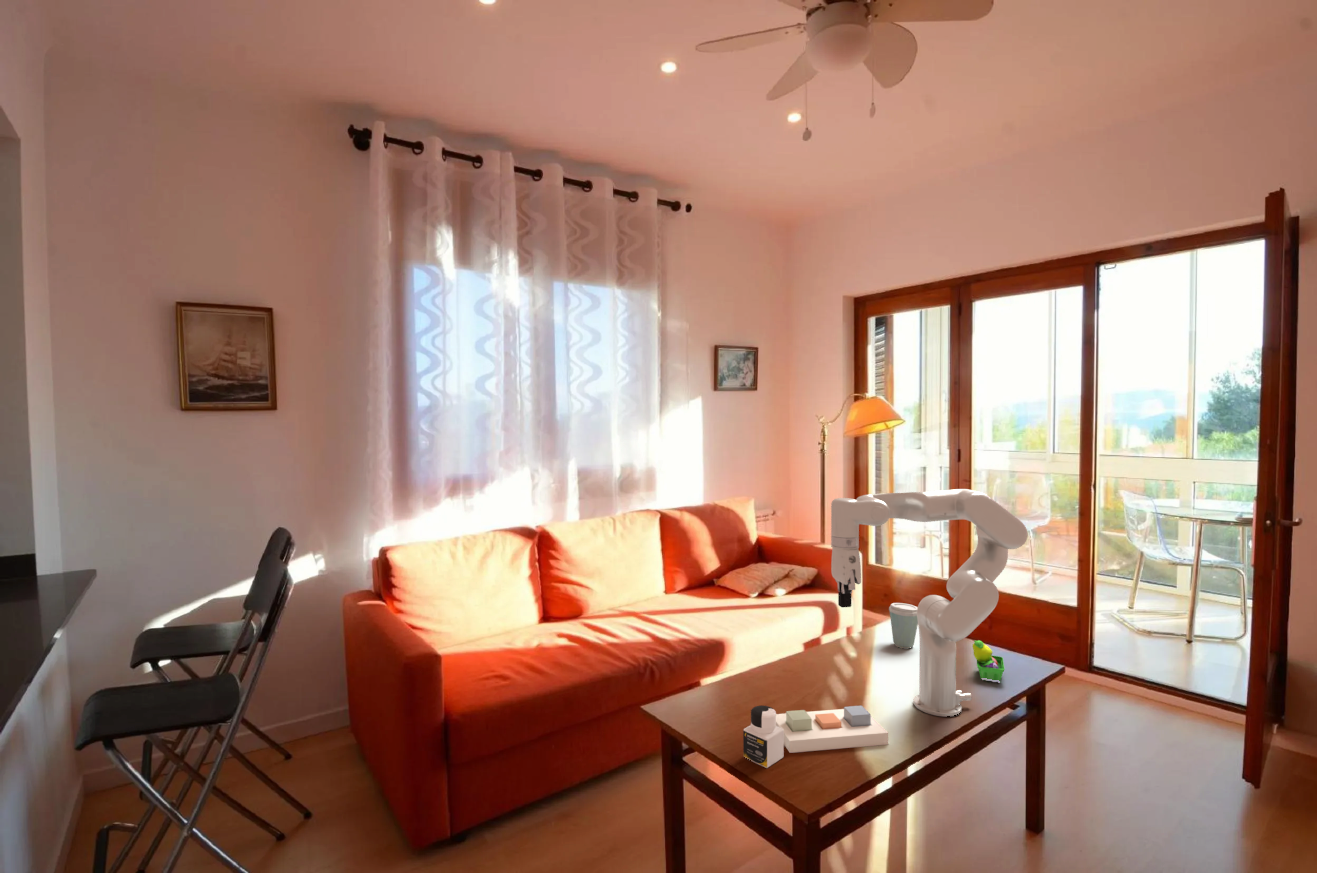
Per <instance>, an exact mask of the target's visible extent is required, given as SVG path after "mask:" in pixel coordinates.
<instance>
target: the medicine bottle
mask: <svg viewBox="0 0 1317 873" xmlns="http://www.w3.org/2000/svg"><path fill="white" fill-rule="evenodd" d="M776 714H777V711H776V710H775V709H774V708H773V707H772V706H767V705H756V706H754V707H752V708H751V709H750V725H747V727H744V728H743V731H742V732H743V735H742V736H743V737H742V738H743V740H742V743H743V745H742V746H743V754H742V755H743V758H744V757H745V759H746V758H747V760H748V759H749V760H748V761H750V760H751V762H753V763H755V764H756V765H759V766H761V767H764V768H766V769H768V768H769V767H771V766H773V765H774V764H775V763H777V762H779V761H780V760H781V759H783V758H784V757H785V756H784V753H785V751H784V750H785V749H784V748H785V745H784V730H783V729H782V728H780V727H777V726H776Z"/></svg>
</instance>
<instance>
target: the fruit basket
mask: <svg viewBox="0 0 1317 873" xmlns="http://www.w3.org/2000/svg"><path fill="white" fill-rule="evenodd" d="M973 642H974V643H973V644H972V650H973V656H974V658H975V659H976V666H977V669H978V672H979V676H980V677H979V678H980V679H981V678H987V679H992V680H999V681H1000V680H1001V681H1002V677H1003V673H1004V671H1005V664H1004V663H1005V662H1004V657H1002V656H998V655H993V650H992V649H991V648H990V647H989V646H988V645H987V644H985V643H984V642H983V641H982V640H974V641H973ZM1001 681H1000V682H1001Z"/></svg>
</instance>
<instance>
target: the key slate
mask: <svg viewBox="0 0 1317 873" xmlns="http://www.w3.org/2000/svg"><path fill="white" fill-rule="evenodd" d="M843 709H844V719H845V720H846V721H847V722H848V723H849V725H850V726H851V727H858V726H870V725H871V716H872V715H871V713H870V712H869V711H868V710H867V709H866V708H865V707H864V706H863V705H850V706H843Z"/></svg>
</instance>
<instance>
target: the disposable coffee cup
mask: <svg viewBox="0 0 1317 873" xmlns="http://www.w3.org/2000/svg"><path fill="white" fill-rule="evenodd" d="M917 608H918V606H915V605H913V604H909V603H903V602H893V603H891V604H890V606H889V607H888V611H889V617H890V625H891V633H892V642H893V644H894V646H895V647H897V648H898V647H901V648H900V649H902V648H910V647H912V648H913V647H914V644H915V641H916V640H915V639H916V634H917V631H918V630H917V629H918V620H917Z"/></svg>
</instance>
